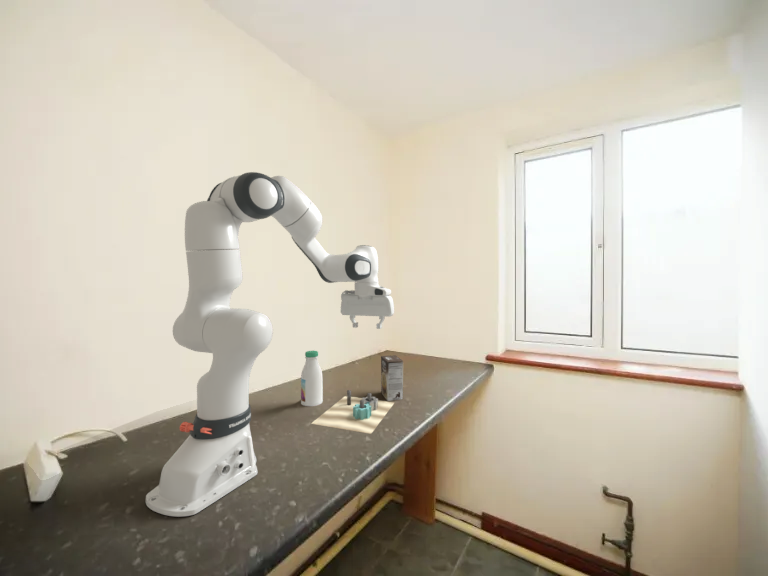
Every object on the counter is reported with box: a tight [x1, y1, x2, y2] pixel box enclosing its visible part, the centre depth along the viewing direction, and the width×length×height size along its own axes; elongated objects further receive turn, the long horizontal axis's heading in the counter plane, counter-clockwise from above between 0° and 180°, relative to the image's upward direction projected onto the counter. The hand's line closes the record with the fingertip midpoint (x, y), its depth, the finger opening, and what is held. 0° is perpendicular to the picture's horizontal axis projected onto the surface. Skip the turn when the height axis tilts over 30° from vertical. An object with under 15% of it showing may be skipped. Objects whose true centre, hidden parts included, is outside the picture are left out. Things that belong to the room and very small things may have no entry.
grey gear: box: [361, 396, 379, 411], centre depth 104 cm, size 6×6×3 cm
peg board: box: [310, 389, 395, 435], centre depth 101 cm, size 24×20×6 cm
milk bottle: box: [300, 350, 324, 407], centre depth 110 cm, size 8×8×20 cm
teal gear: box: [353, 404, 371, 420], centre depth 98 cm, size 6×6×3 cm
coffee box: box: [380, 355, 404, 402], centre depth 116 cm, size 9×6×16 cm
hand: (367, 327), depth 110 cm, fingers open, 8 cm apart
